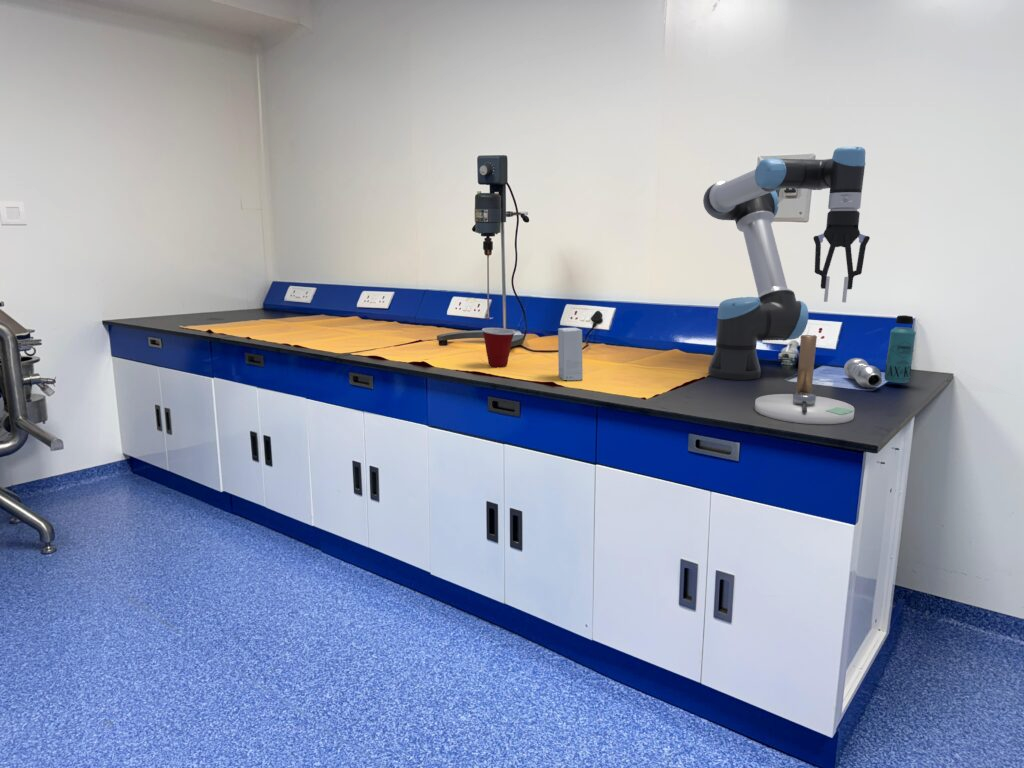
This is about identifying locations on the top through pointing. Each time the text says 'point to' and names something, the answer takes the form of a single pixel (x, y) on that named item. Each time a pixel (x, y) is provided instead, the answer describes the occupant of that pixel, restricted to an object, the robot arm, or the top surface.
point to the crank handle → (805, 372)
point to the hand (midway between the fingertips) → (834, 301)
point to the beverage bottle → (900, 352)
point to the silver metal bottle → (863, 373)
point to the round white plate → (816, 414)
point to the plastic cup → (498, 345)
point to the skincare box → (570, 353)
